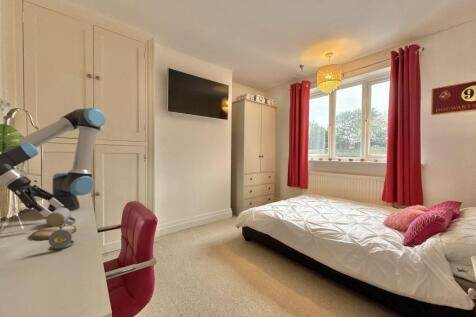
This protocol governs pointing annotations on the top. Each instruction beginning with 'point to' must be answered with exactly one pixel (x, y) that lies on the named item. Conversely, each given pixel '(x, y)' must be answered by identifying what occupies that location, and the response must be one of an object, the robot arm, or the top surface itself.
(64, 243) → the pocket watch
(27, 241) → the top surface
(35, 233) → the brown round plate
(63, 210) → the ceramic mug
